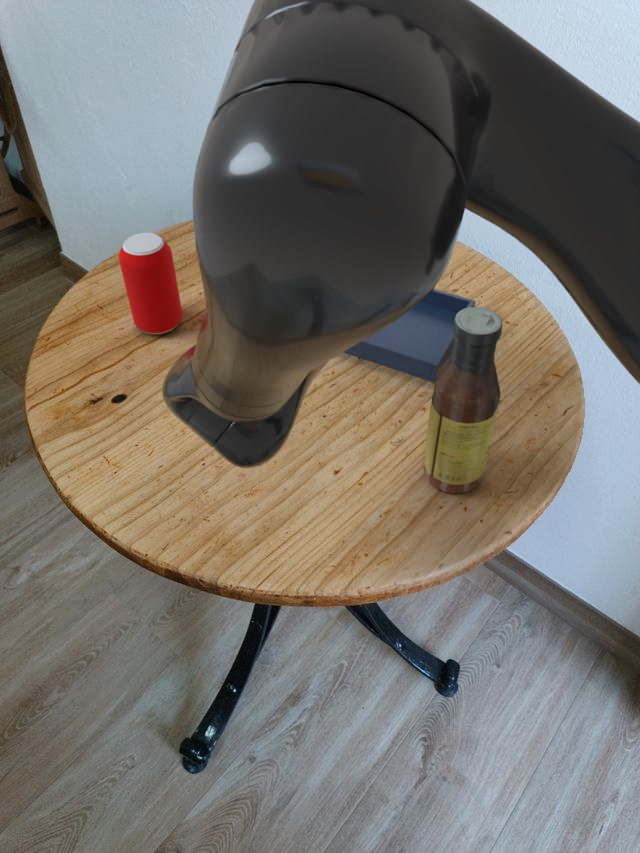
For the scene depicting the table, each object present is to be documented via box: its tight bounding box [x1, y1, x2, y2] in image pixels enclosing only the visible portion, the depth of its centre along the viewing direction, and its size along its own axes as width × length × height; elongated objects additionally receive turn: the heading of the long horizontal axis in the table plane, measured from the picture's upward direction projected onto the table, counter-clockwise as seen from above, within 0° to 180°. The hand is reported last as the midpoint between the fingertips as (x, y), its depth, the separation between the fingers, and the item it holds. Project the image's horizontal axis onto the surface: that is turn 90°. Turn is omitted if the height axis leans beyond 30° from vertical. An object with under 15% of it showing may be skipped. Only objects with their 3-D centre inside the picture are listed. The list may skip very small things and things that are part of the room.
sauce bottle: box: [423, 306, 503, 495], centre depth 65 cm, size 7×6×20 cm
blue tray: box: [343, 288, 477, 383], centre depth 87 cm, size 13×14×3 cm
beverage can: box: [118, 232, 183, 335], centre depth 85 cm, size 6×6×12 cm
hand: (413, 218), depth 74 cm, fingers closed on pill bottle, 5 cm apart
